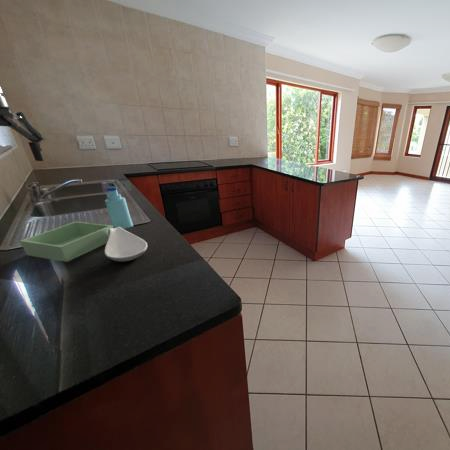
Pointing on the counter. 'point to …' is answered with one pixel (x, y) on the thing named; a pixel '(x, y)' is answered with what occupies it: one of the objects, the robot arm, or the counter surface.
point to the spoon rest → (124, 245)
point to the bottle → (118, 209)
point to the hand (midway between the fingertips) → (16, 163)
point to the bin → (67, 241)
